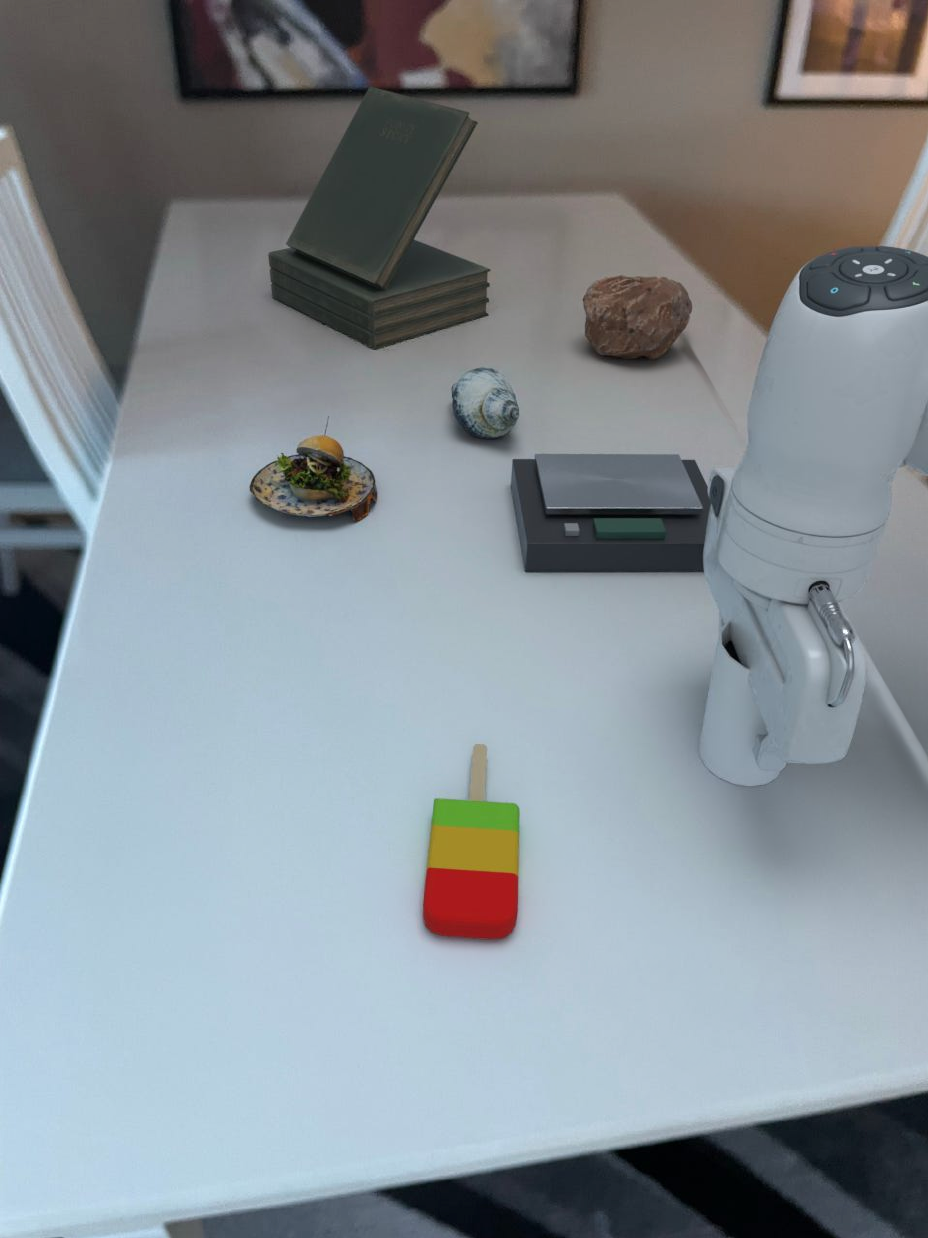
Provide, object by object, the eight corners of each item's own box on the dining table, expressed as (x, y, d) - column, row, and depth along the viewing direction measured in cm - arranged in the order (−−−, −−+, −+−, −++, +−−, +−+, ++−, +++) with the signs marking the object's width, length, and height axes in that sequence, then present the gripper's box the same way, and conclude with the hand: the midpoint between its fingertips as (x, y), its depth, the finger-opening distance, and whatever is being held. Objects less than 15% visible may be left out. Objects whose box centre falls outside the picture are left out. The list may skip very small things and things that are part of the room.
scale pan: (677, 460, 97) (679, 454, 96) (702, 514, 89) (703, 507, 88) (534, 459, 96) (534, 453, 96) (545, 514, 88) (546, 507, 88)
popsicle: (420, 938, 57) (420, 918, 56) (440, 751, 69) (440, 732, 68) (516, 944, 57) (518, 924, 56) (519, 756, 69) (521, 737, 68)
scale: (690, 485, 100) (696, 451, 97) (728, 571, 88) (736, 535, 85) (510, 485, 99) (512, 451, 96) (524, 572, 87) (527, 535, 85)
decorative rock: (692, 347, 128) (706, 268, 122) (668, 379, 120) (682, 297, 114) (595, 328, 132) (604, 251, 126) (566, 358, 124) (574, 277, 118)
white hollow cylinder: (782, 803, 66) (819, 690, 60) (683, 774, 68) (709, 662, 62) (794, 738, 71) (830, 628, 65) (702, 713, 73) (727, 603, 67)
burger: (229, 491, 96) (220, 420, 92) (331, 456, 102) (327, 388, 98) (297, 546, 89) (290, 472, 84) (402, 504, 95) (401, 433, 91)
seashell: (505, 417, 114) (501, 467, 104) (447, 388, 112) (437, 436, 103) (532, 370, 110) (530, 417, 101) (472, 340, 109) (464, 384, 99)
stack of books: (271, 297, 138) (254, 96, 123) (384, 270, 148) (380, 81, 133) (373, 350, 124) (367, 131, 109) (488, 315, 135) (498, 111, 120)
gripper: (920, 650, 51) (847, 831, 59) (796, 457, 67) (752, 621, 75) (799, 650, 50) (742, 832, 59) (704, 456, 67) (670, 620, 75)
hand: (747, 712), depth 67 cm, fingers open, 8 cm apart
